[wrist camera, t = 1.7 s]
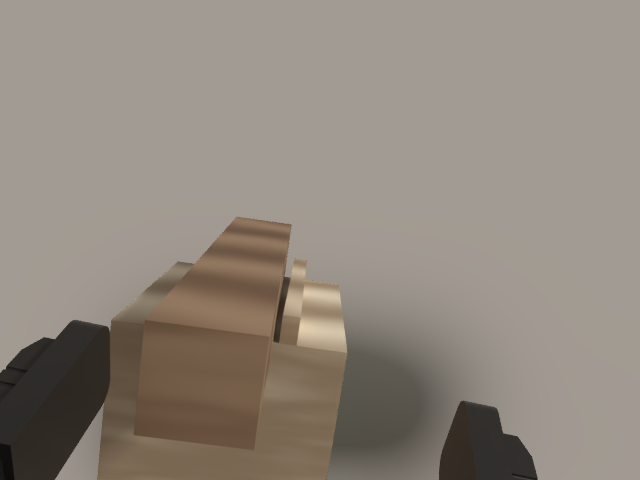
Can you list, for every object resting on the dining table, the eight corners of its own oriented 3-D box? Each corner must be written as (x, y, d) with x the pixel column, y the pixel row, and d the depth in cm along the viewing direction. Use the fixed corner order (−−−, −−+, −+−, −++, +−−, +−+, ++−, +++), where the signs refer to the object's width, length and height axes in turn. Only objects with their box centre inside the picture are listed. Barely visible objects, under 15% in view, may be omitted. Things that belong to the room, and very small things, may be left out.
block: (230, 270, 43) (236, 216, 42) (284, 277, 43) (291, 224, 42) (133, 435, 19) (144, 319, 19) (254, 450, 19) (269, 336, 19)
